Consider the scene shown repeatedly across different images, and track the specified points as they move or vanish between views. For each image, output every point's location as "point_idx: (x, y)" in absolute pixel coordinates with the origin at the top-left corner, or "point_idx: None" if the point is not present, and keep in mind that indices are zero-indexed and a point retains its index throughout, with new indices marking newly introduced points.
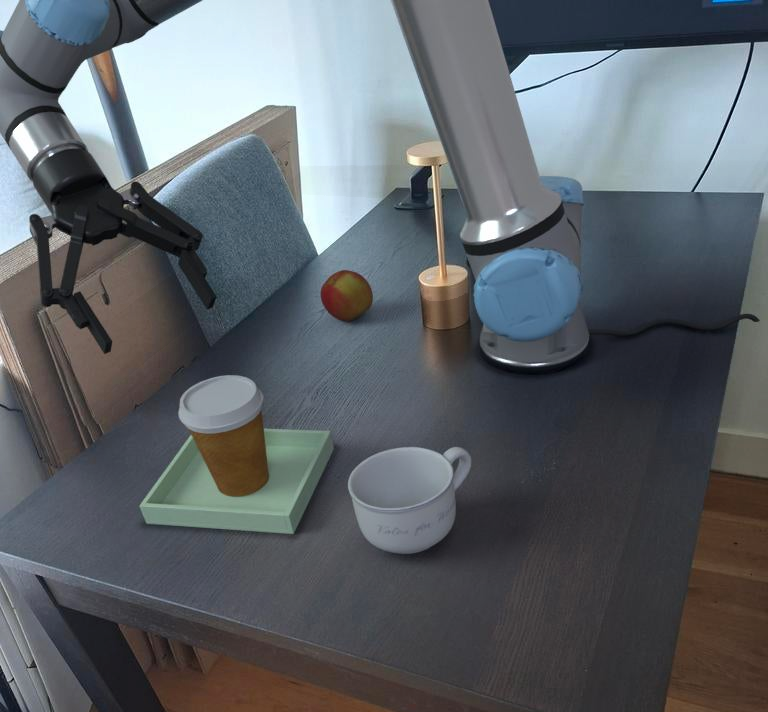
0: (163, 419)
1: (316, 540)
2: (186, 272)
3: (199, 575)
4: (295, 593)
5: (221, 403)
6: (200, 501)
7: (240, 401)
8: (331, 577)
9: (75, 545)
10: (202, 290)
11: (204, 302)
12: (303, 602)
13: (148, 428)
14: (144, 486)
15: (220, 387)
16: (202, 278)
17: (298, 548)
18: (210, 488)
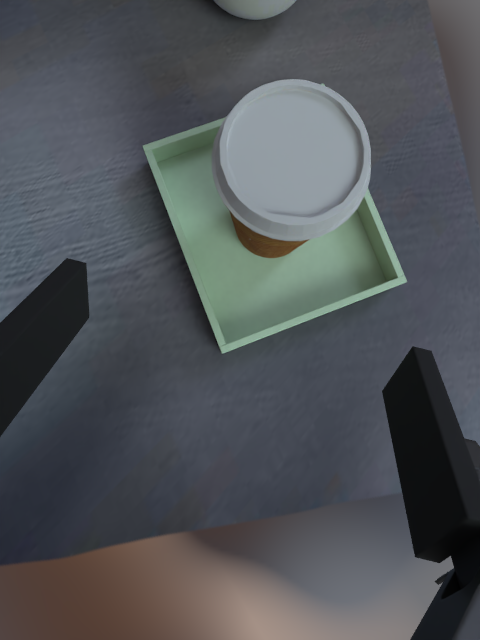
0: (198, 470)
1: (311, 74)
2: (18, 391)
3: (422, 158)
4: (387, 45)
5: (308, 134)
6: (331, 246)
7: (286, 106)
8: (350, 25)
9: (467, 341)
10: (66, 305)
11: (79, 320)
12: (393, 30)
13: (229, 473)
14: (339, 354)
15: (264, 177)
16: (34, 301)
17: (331, 84)
18: (303, 254)
